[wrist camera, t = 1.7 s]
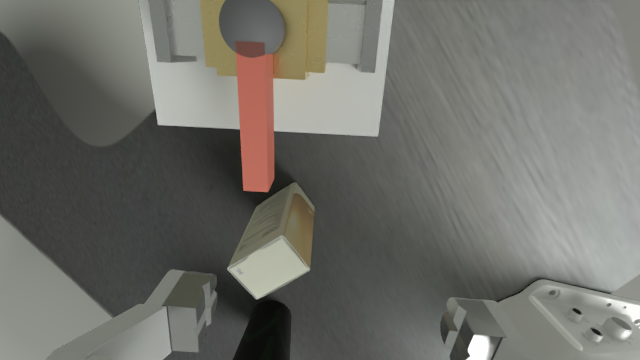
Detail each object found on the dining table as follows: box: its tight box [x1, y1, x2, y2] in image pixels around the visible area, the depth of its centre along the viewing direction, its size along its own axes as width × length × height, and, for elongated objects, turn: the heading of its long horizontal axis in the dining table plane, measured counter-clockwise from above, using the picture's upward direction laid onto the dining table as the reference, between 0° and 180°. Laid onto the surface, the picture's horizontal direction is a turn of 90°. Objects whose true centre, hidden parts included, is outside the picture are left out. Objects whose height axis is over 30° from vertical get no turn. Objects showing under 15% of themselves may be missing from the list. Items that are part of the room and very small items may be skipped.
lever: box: [219, 0, 286, 192], centre depth 23 cm, size 4×14×3 cm, turn 177°
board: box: [138, 0, 394, 137], centre depth 31 cm, size 24×15×1 cm, turn 87°
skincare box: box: [227, 182, 315, 299], centre depth 32 cm, size 6×4×12 cm
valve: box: [148, 0, 383, 80], centre depth 26 cm, size 18×7×8 cm, turn 87°
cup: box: [233, 301, 291, 360], centre depth 39 cm, size 8×8×12 cm
